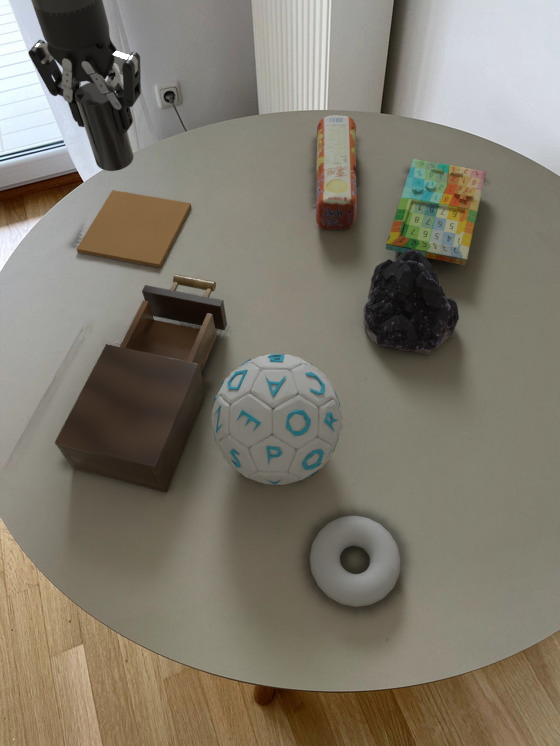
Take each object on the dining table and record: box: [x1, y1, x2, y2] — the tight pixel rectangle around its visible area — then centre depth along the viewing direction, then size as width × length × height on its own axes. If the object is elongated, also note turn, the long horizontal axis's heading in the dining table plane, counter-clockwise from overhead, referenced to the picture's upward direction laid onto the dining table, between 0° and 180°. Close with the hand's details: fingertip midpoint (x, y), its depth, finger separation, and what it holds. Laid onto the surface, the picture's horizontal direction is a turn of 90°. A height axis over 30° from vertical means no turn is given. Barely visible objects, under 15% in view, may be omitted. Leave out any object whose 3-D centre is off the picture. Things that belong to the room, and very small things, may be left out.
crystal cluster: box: [363, 249, 460, 355], centre depth 88 cm, size 13×14×10 cm
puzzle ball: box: [211, 353, 343, 486], centre depth 75 cm, size 15×15×15 cm
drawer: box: [119, 273, 228, 374], centre depth 88 cm, size 18×11×5 cm, turn 164°
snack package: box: [315, 114, 358, 231], centre depth 105 cm, size 21×7×7 cm, turn 177°
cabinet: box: [54, 343, 207, 493], centre depth 81 cm, size 15×13×7 cm
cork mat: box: [76, 189, 192, 269], centre depth 104 cm, size 14×14×1 cm
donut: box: [309, 515, 401, 608], centre depth 72 cm, size 10×4×10 cm
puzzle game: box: [385, 158, 487, 266], centre depth 100 cm, size 12×5×20 cm
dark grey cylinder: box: [75, 82, 134, 172], centre depth 86 cm, size 5×5×10 cm
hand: (104, 126), depth 86 cm, fingers closed on dark grey cylinder, 5 cm apart
